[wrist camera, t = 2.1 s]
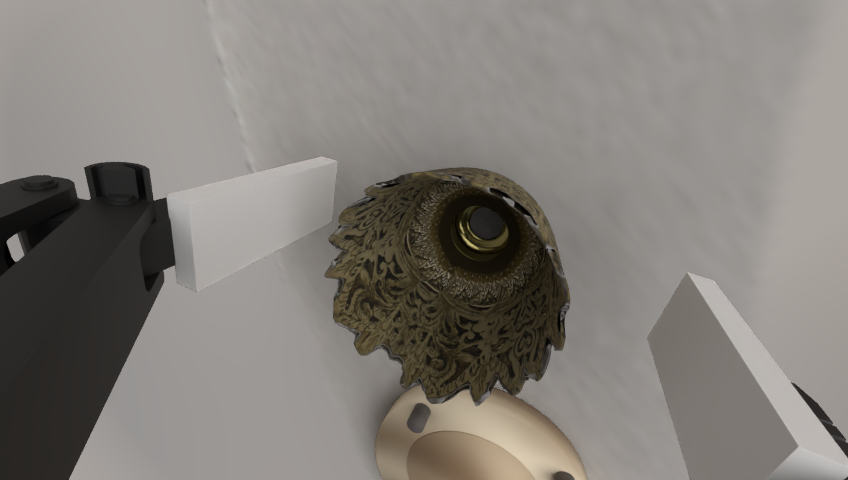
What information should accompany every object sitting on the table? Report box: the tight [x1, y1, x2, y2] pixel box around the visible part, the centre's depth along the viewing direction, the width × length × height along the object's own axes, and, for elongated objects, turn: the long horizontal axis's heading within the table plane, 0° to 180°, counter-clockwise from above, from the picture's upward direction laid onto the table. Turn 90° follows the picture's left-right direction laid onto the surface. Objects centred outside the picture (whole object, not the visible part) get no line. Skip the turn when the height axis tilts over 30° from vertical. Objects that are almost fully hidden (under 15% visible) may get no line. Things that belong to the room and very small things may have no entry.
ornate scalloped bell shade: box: [325, 167, 570, 406], centre depth 14 cm, size 8×7×8 cm
